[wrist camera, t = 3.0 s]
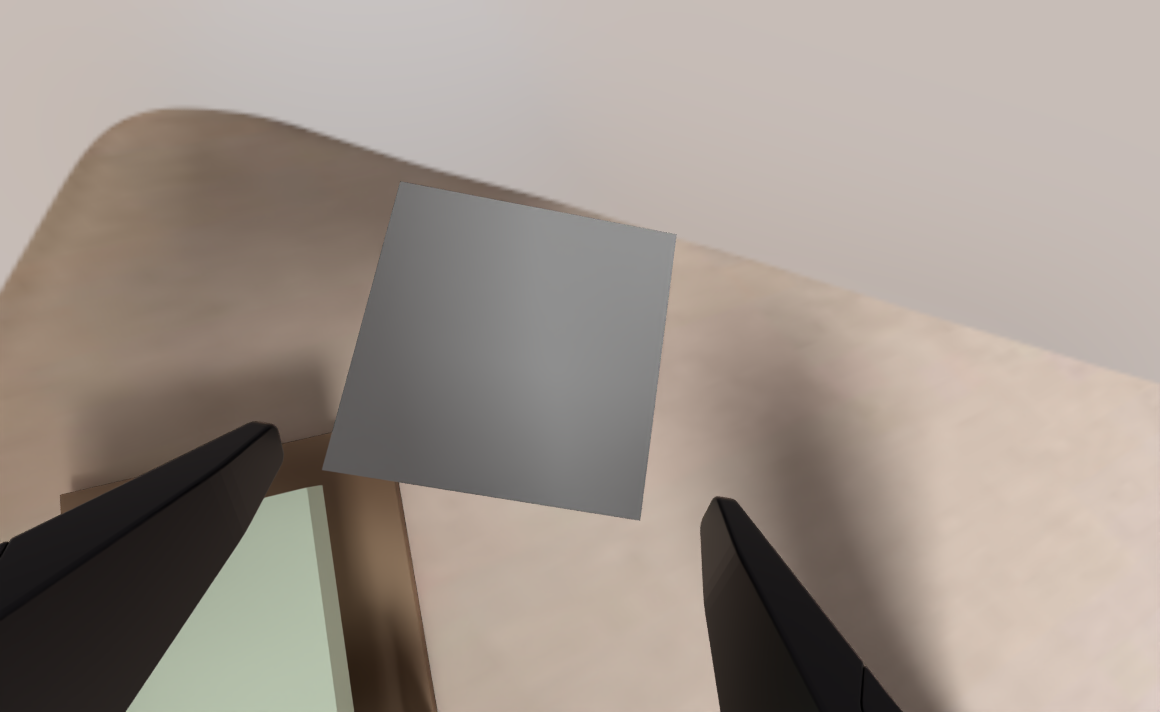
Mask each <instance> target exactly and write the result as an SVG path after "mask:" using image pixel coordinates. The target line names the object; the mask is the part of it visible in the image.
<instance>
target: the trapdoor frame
mask: <svg viewBox="0 0 1160 712" xmlns="http://www.w3.org/2000/svg"><path fill="white" fill-rule="evenodd" d="M331 434H332V432H331V433H327V434H322V435H318V436H314V437H309V438H305V439H301V440H296V441H292V442H288V443H283V444H282V447H283V451H284V459H283V462H282V465H281V467H280V469H279V471H278V473H277V474H276V476H275V478H274V480H273V482H272V484H271V486H270V488H269V490H268V491H267V493H266V495H265V497H264V498H266V497H270V496H274V495H278V494H282V493H286V492H290V491H294V490H299V489H303V488H307V487H313V486H319V485H322V487H323V494H324V501H325V508H326V515H327V522H328V529H329V536H330V543H331V551H332V558H333V565H334V572H335V579H336V586H337V593H338V600H339V607H340V615H341V622H342V629H343V636H344V643H345V650H346V657H347V664H348V671H349V679H350V686H351V693H352V700H353V707H354V712H437V707H436V701H435V696H434V690H433V684H432V678H431V672H430V666H429V660H428V654H427V648H426V642H425V636H424V631H423V625H422V619H421V613H420V607H419V601H418V595H417V589H416V583H415V577H414V571H413V565H412V560H411V554H410V548H409V542H408V536H407V530H406V524H405V518H404V512H403V506H402V500H401V494H400V489H399V483H398V482H394V481H388V480H382V479H375V478H369V477H363V476H357V475H350V474H344V473H338V472H331V471H325V470H322V468H323V464H324V460H325V457H326V453H327V449H328V446H329V442H330V438H331ZM135 478H136V477H135ZM132 479H134V478H131V479H127V480H122V481H118V482H114V483H109V484H105V485H101V486H96V487H92V488H88V489H83V490H79V491H75V492H70V493H66V494H62V495H60V505H61V514H63V513H65V512H67V511H69V510H71V509H73V508H75V507H77V506H79V505H81V504H83V503H85V502H87V501H89V500H91V499H93V498H95V497H97V496H100V495H102V494H104V493H106V492H108V491H110V490H112V489H114V488H116V487H118V486H120V485H122V484H124V483H126V482H128V481H130V480H132Z"/></svg>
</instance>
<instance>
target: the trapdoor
mask: <svg viewBox="0 0 1160 712" xmlns="http://www.w3.org/2000/svg"><path fill="white" fill-rule="evenodd" d="M126 712H354V707H353V700H352V693H351V686H350V679H349V671H348V664H347V657H346V650H345V643H344V636H343V629H342V622H341V615H340V607H339V600H338V593H337V586H336V579H335V572H334V565H333V558H332V551H331V543H330V536H329V529H328V522H327V515H326V508H325V501H324V494H323V487H322V485H319V486H313V487H307V488H303V489H299V490H294V491H290V492H286V493H282V494H278V495H274V496H270V497H266V498H264V499H263V501H262V503H261V505H260V507H259V509H258V510H257V512H256V514H255V516H254V518H253V520H252V522H251V524H250V525H249V527H248V529H247V531H246V532H245V534H244V536H243V537H242V539H241V540H240V542H239V544H238V545H237V547H236V548H235V550H234V551H233V553H232V554H231V556H230V557H229V559H228V560H227V562H226V563H225V565H224V566H223V568H222V569H221V571H220V572H219V574H218V575H217V577H216V578H215V580H214V581H213V582H212V584H211V585H210V587H209V588H208V590H207V591H206V593H205V594H204V596H203V597H202V599H201V600H200V602H199V603H198V605H197V606H196V608H195V609H194V611H193V612H192V614H191V615H190V617H189V618H188V620H187V621H186V623H185V624H184V626H183V627H182V629H181V630H180V632H179V633H178V635H177V636H176V638H175V639H174V641H173V642H172V644H171V645H170V647H169V648H168V650H167V651H166V653H165V654H164V656H163V657H162V659H161V660H160V662H159V663H158V665H157V666H156V668H155V669H154V671H153V672H152V674H151V675H150V677H149V678H148V680H147V681H146V683H145V684H144V686H143V687H142V688H141V690H140V691H139V693H138V694H137V696H136V697H135V699H134V700H133V702H132V703H131V705H130V706H129V708H128V709H127V711H126Z"/></svg>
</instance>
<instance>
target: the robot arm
mask: <svg viewBox="0 0 1160 712" xmlns="http://www.w3.org/2000/svg"><path fill="white" fill-rule="evenodd" d="M283 459H284V451H283V447H282V443H281V439H280V435H279V431H278V428H277V427H276V426H275V425H274V424H270V423H263V422H257V421H255V422H250V423H247V424H245V425H243V426H241V427H239V428H237V429H235V430H233V431H231V432H229V433H227V434H225V435H223V436H221V437H219V438H217V439H215V440H212V441H210V442H208V443H206V444H204V445H202V446H200V447H198V448H196V449H194V450H192V451H190V452H188V453H186V454H184V455H182V456H180V457H178V458H176V459H173V460H171V461H169V462H167V463H165V464H163V465H161V466H159V467H157V468H155V469H153V470H151V471H149V472H147V473H145V474H143V475H141V476H139V477H136V478H134V479H132V480H130V481H128V482H126V483H124V484H122V485H120V486H118V487H116V488H114V489H112V490H110V491H108V492H106V493H104V494H102V495H100V496H97V497H95V498H93V499H91V500H89V501H87V502H85V503H83V504H81V505H79V506H77V507H75V508H73V509H71V510H69V511H67V512H65V513H63V514H61V515H58V516H56V517H54V518H52V519H50V520H48V521H46V522H44V523H42V524H40V525H38V526H36V527H34V528H32V529H30V530H28V531H26V532H24V533H21V534H19V535H17V536H15V537H13V538H12V539H11V540H10V541H9V542H3V543H1V544H0V712H126V711H127V709H128V708H129V706H130V705H131V703H132V702H133V700H134V699H135V697H136V696H137V694H138V693H139V691H140V690H141V688H142V687H143V686H144V684H145V683H146V681H147V680H148V678H149V677H150V675H151V674H152V672H153V671H154V669H155V668H156V666H157V665H158V663H159V662H160V660H161V659H162V657H163V656H164V654H165V653H166V651H167V650H168V648H169V647H170V645H171V644H172V642H173V641H174V639H175V638H176V636H177V635H178V633H179V632H180V630H181V629H182V627H183V626H184V624H185V623H186V621H187V620H188V618H189V617H190V615H191V614H192V612H193V611H194V609H195V608H196V606H197V605H198V603H199V602H200V600H201V599H202V597H203V596H204V594H205V593H206V591H207V590H208V588H209V587H210V585H211V584H212V582H213V581H214V580H215V578H216V577H217V575H218V574H219V572H220V571H221V569H222V568H223V566H224V565H225V563H226V562H227V560H228V559H229V557H230V556H231V554H232V553H233V551H234V550H235V548H236V547H237V545H238V544H239V542H240V540H241V539H242V537H243V536H244V534H245V532H246V531H247V529H248V527H249V525H250V524H251V522H252V520H253V518H254V516H255V514H256V512H257V510H258V509H259V507H260V505H261V503H262V501H263V499H264V497H265V495H266V493H267V491H268V490H269V488H270V486H271V484H272V482H273V480H274V478H275V476H276V474H277V473H278V471H279V469H280V467H281V465H282V462H283ZM700 535H701V557H702V578H703V597H704V607H705V615H706V622H707V628H708V634H709V641H710V647H711V654H712V660H713V667H714V673H715V679H716V686H717V692H718V699H719V705H720V712H903V711H902V710H901V708H900V707H899V706H898V705H897V704H896V702H895V701H894V700H893V699H892V697H891V696H890V695H889V694H888V692H887V691H886V690H885V689H884V688H883V686H882V685H881V684H880V682H879V681H878V680H877V679H876V677H875V676H874V675H873V674H872V672H871V671H870V670H869V669H868V667H866V666H864V663H863V661H862V660H861V659H860V657H859V656H858V655H857V653H856V652H855V651H854V650H853V648H852V647H851V646H850V645H849V643H848V642H847V641H846V640H845V638H844V637H843V636H842V634H841V633H840V632H839V631H838V629H837V628H836V627H835V626H834V624H833V623H832V622H831V620H830V619H829V618H828V617H827V615H826V614H825V613H824V612H823V610H822V609H821V608H820V606H819V605H818V604H817V603H816V601H815V600H814V599H813V598H812V596H811V595H810V594H809V593H808V591H807V590H806V589H805V587H804V586H803V585H802V584H801V582H800V581H799V580H798V579H797V577H796V576H795V575H794V573H793V572H792V571H791V570H790V568H789V567H788V566H787V565H786V563H785V562H784V561H783V559H782V558H781V557H780V556H779V554H778V553H777V552H776V551H775V549H774V548H773V547H772V546H771V544H770V543H769V542H768V540H767V539H766V538H765V537H764V535H763V534H762V533H761V532H760V530H759V529H758V528H757V526H756V525H755V524H754V523H753V521H752V520H751V519H750V518H749V516H748V515H747V514H746V512H745V511H744V510H743V509H742V507H741V506H740V505H739V504H738V502H737V501H735V500H734V499H732V498H726V497H720V496H716V497H714V498H713V500H712V501H711V503H710V505H709V507H708V509H707V511H706V513H705V515H704V517H703V519H702V522H701V527H700Z"/></svg>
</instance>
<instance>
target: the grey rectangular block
mask: <svg viewBox="0 0 1160 712" xmlns="http://www.w3.org/2000/svg"><path fill="white" fill-rule="evenodd" d="M675 243H676V234H672V233H667V232H661V231H656V230H651V229H646V228H641V227H635V226H630V225H625V224H620V223H615V222H609V221H604V220H599V219H594V218H589V217H583V216H578V215H573V214H568V213H563V212H557V211H552V210H547V209H542V208H537V207H531V206H526V205H521V204H516V203H510V202H505V201H500V200H495V199H490V198H484V197H479V196H474V195H469V194H464V193H458V192H453V191H448V190H443V189H438V188H432V187H427V186H422V185H417V184H412V183H406V182H401V181H400V184H399V188H398V192H397V195H396V199H395V203H394V206H393V210H392V214H391V217H390V221H389V225H388V228H387V232H386V236H385V240H384V243H383V247H382V251H381V254H380V258H379V262H378V265H377V269H376V273H375V276H374V280H373V284H372V287H371V291H370V295H369V298H368V302H367V306H366V309H365V313H364V317H363V320H362V324H361V328H360V331H359V335H358V339H357V343H356V346H355V350H354V354H353V357H352V361H351V365H350V368H349V372H348V376H347V379H346V383H345V387H344V390H343V394H342V398H341V401H340V405H339V409H338V412H337V416H336V420H335V423H334V427H333V431H332V434H331V438H330V442H329V446H328V449H327V453H326V457H325V460H324V464H323V468H322V470H325V471H331V472H338V473H344V474H350V475H357V476H363V477H369V478H375V479H382V480H388V481H394V482H401V483H407V484H413V485H419V486H426V487H432V488H438V489H444V490H451V491H457V492H463V493H470V494H476V495H482V496H488V497H495V498H501V499H507V500H514V501H520V502H526V503H532V504H539V505H545V506H551V507H558V508H564V509H570V510H576V511H583V512H589V513H595V514H602V515H608V516H614V517H620V518H627V519H633V520H639V521H640V517H641V510H642V502H643V494H644V486H645V478H646V470H647V462H648V455H649V447H650V439H651V431H652V423H653V415H654V408H655V400H656V392H657V384H658V376H659V368H660V360H661V353H662V345H663V337H664V329H665V321H666V313H667V306H668V298H669V290H670V282H671V274H672V266H673V258H674V251H675Z"/></svg>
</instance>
